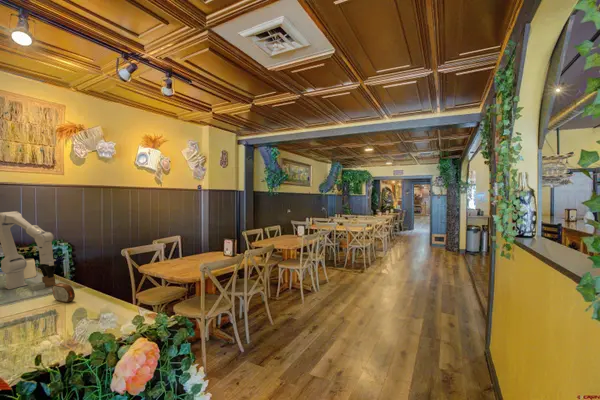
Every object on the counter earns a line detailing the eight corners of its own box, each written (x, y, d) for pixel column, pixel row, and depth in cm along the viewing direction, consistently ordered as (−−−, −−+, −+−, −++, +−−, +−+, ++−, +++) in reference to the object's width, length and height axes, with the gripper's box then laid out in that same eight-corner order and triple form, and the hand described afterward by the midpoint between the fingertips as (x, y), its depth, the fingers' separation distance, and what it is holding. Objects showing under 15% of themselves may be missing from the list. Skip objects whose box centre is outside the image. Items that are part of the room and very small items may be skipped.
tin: (76, 301, 134) (74, 284, 134) (68, 304, 131) (66, 286, 131) (59, 298, 141) (57, 281, 140) (51, 300, 138) (50, 283, 137)
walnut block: (42, 286, 162) (41, 276, 161) (52, 283, 165) (51, 274, 165) (45, 287, 159) (44, 277, 159) (55, 284, 163) (54, 275, 163)
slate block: (30, 290, 156) (30, 284, 156) (42, 287, 160) (42, 282, 160) (33, 291, 154) (32, 286, 153) (45, 288, 158) (44, 283, 158)
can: (39, 275, 185) (37, 257, 184) (28, 279, 178) (26, 260, 178) (30, 276, 185) (28, 258, 185) (19, 279, 179) (17, 260, 178)
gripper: (59, 253, 161) (61, 276, 162) (50, 251, 169) (52, 273, 169) (43, 255, 155) (46, 279, 156) (34, 253, 163) (37, 276, 163)
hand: (48, 276), depth 162 cm, fingers open, 7 cm apart
